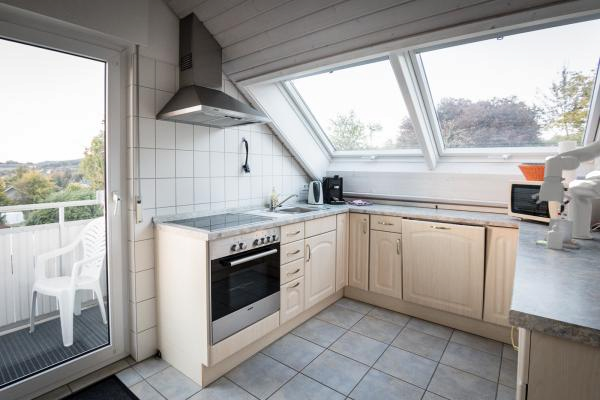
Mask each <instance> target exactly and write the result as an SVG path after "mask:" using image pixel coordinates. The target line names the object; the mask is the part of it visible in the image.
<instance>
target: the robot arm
mask: <svg viewBox="0 0 600 400" xmlns="http://www.w3.org/2000/svg"><path fill="white" fill-rule="evenodd" d="M598 158H600V139H597V140H595V141H593V142H590V143H588V144H586V145H583V146H581V147H578V148H574V149H570V150H566V151H563V152H560V153H558V154H556V155H554V156H547V157H546V158H545V160H544V161H545V162H544V163H545V164H544V173H543V174H544V175H543V182H541V184H540V189H539V192H537V193H534V194H532V195H531V198H532V199H533V200H532V201H534V203H535V204H536V210H537V212H540V211H541V207H542V204H541V202H543V201H544V202H555V203H556V202H557V203H558V202H559V203H560V204H561V205H560V211H559V213H561V214H563V212H565V206H566V205H568V215H567V220H574V222H573V233H572V239H579V240H580V239H582V240H592V239H593V238H594V236H593V235H590V232H591V231H590V230H591V222H592V221H591V220H592V210H593V204H592V202H591V200H590V199H600V165H599V166H598V167H596V168H594V169H593V170H592V171H591V172H589V173H588V174H586V176H585V178H584V179H576V180H572V181H571V182H570V183H569V185H568V188H567V189H568V194H566V193H565V185H564V182H565V181H566V177H563V171H565V172H568V171H575V170H577V169H578V168H579V167H580V165H581V163H587V162H591V161H593V160H596V159H598ZM563 181H564V182H563ZM537 197H538V199H537ZM564 198H566V201H564Z"/></svg>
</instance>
